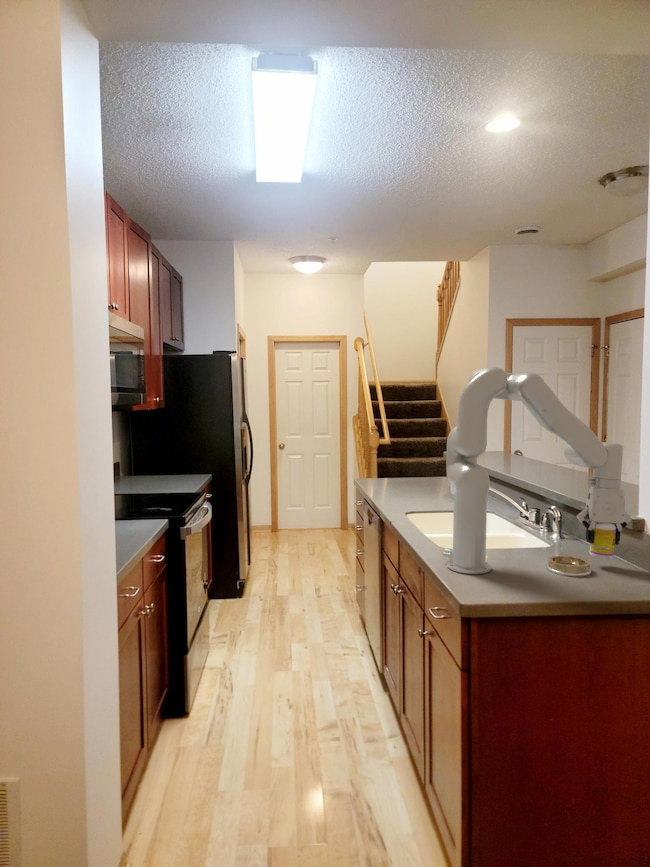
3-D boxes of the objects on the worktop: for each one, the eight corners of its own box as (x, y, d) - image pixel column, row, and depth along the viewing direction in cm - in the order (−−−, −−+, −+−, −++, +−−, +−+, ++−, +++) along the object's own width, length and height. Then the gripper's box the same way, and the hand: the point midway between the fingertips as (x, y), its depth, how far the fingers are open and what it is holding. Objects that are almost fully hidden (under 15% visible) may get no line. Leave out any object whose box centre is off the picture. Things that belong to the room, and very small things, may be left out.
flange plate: (539, 569, 162) (539, 560, 162) (557, 561, 170) (557, 552, 170) (580, 579, 153) (581, 569, 153) (597, 570, 161) (597, 561, 161)
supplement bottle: (615, 560, 160) (618, 517, 160) (590, 557, 163) (593, 515, 162) (612, 555, 167) (615, 513, 166) (588, 552, 169) (590, 511, 168)
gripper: (582, 484, 160) (578, 545, 161) (642, 487, 159) (638, 547, 160) (571, 480, 167) (568, 538, 168) (629, 483, 167) (625, 541, 168)
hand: (602, 542), depth 164 cm, fingers closed on supplement bottle, 6 cm apart
